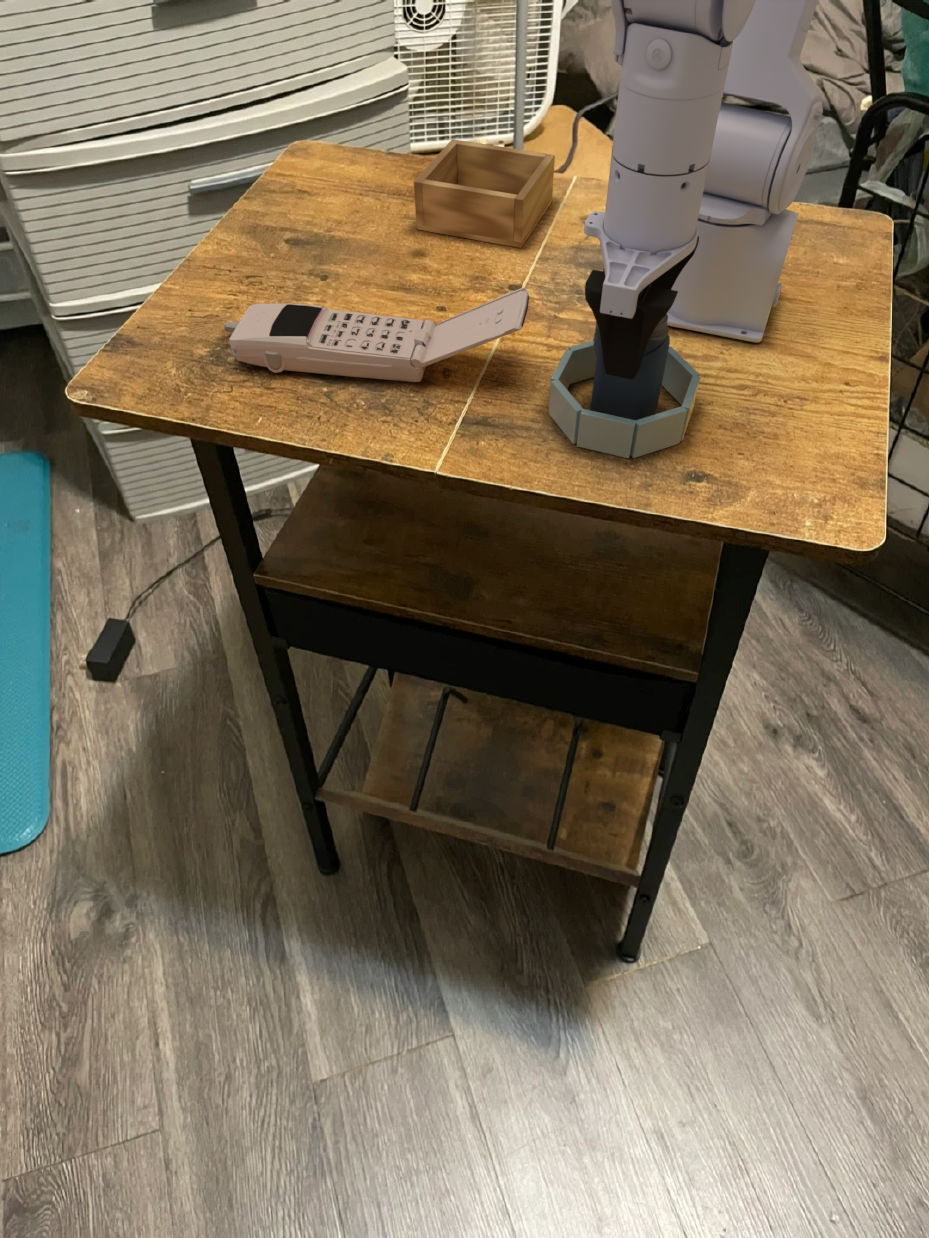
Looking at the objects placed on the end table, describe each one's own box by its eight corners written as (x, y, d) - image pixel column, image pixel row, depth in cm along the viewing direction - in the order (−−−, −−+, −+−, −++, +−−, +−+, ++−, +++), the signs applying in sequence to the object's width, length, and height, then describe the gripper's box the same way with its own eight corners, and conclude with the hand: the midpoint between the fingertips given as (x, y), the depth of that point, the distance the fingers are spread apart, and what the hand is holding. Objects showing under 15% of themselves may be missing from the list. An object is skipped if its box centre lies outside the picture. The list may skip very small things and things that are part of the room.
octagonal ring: (701, 386, 67) (709, 352, 64) (672, 469, 61) (680, 435, 59) (574, 359, 69) (577, 326, 67) (534, 437, 63) (537, 403, 61)
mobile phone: (522, 330, 62) (189, 300, 64) (518, 399, 66) (207, 369, 69) (532, 286, 65) (216, 260, 68) (528, 354, 70) (232, 327, 73)
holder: (552, 202, 86) (555, 154, 82) (521, 248, 80) (523, 199, 77) (453, 185, 88) (451, 139, 85) (416, 229, 83) (413, 181, 79)
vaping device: (589, 394, 66) (607, 244, 57) (657, 406, 65) (687, 255, 56) (582, 415, 65) (599, 264, 55) (652, 427, 64) (682, 275, 54)
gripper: (624, 98, 56) (601, 292, 66) (558, 199, 47) (544, 402, 58) (734, 113, 54) (692, 309, 65) (686, 220, 46) (647, 425, 56)
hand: (629, 354), depth 61 cm, fingers open, 4 cm apart
